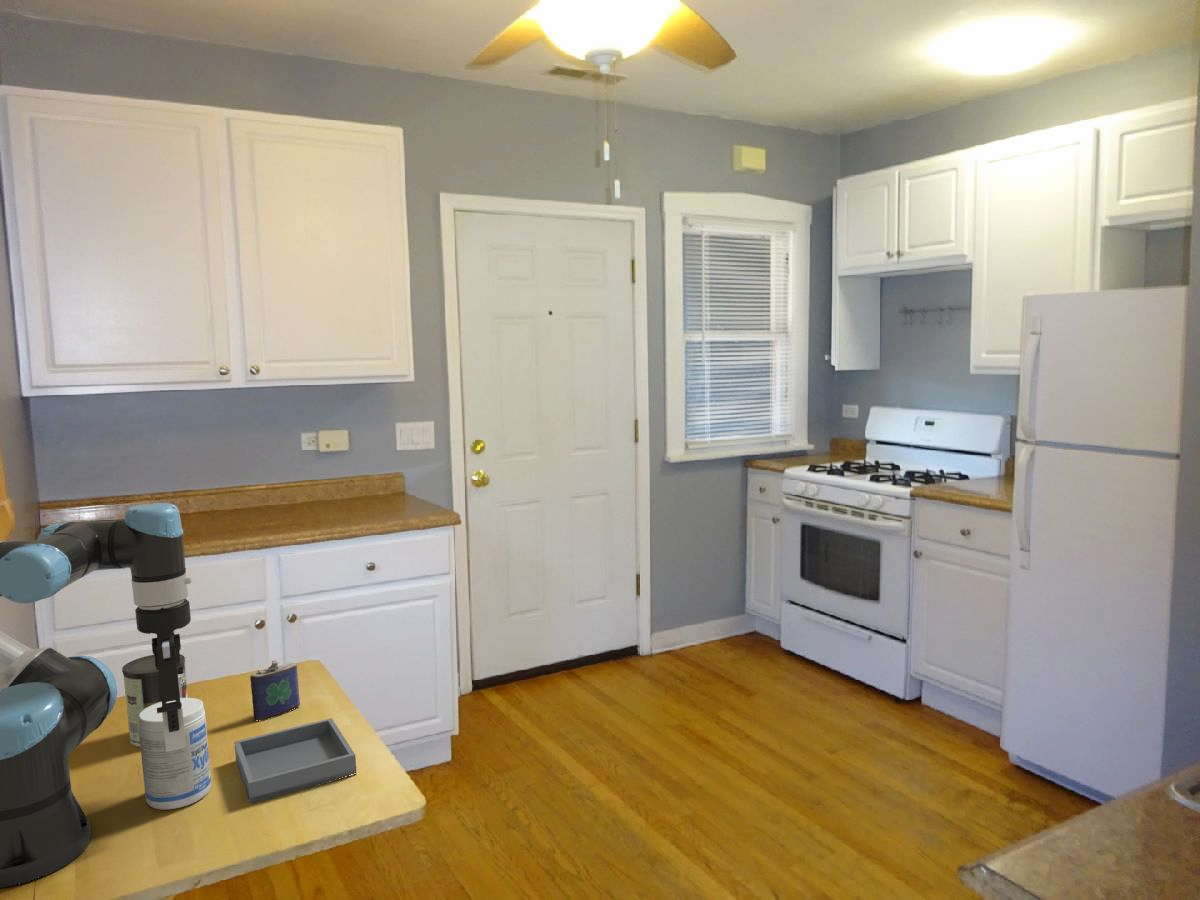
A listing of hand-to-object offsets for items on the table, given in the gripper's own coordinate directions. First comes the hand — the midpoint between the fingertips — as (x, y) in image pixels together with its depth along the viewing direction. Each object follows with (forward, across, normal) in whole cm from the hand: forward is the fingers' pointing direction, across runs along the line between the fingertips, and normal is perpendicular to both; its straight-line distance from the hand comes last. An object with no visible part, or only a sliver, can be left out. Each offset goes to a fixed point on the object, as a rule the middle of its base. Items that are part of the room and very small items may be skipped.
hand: (175, 731), depth 133 cm
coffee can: (+11, +26, +3) cm, 29 cm away
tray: (+11, 0, -17) cm, 21 cm away
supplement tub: (+11, 0, 0) cm, 11 cm away
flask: (+11, +25, -18) cm, 33 cm away
